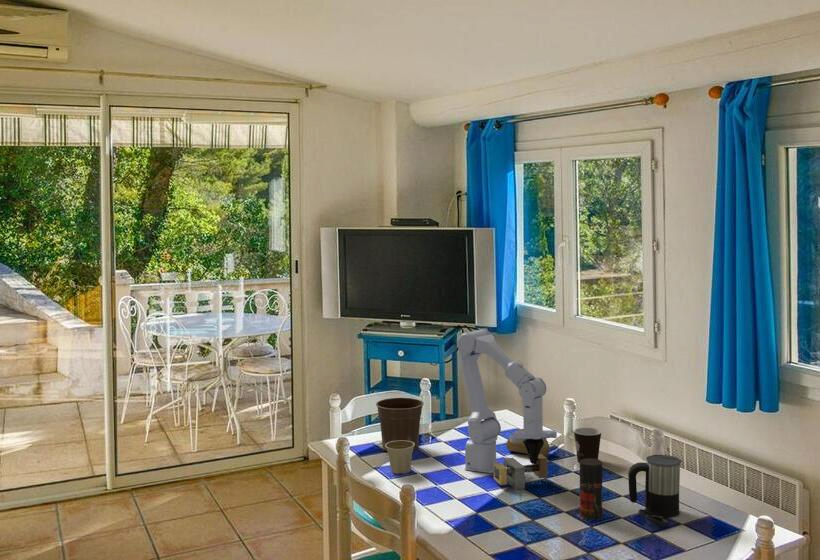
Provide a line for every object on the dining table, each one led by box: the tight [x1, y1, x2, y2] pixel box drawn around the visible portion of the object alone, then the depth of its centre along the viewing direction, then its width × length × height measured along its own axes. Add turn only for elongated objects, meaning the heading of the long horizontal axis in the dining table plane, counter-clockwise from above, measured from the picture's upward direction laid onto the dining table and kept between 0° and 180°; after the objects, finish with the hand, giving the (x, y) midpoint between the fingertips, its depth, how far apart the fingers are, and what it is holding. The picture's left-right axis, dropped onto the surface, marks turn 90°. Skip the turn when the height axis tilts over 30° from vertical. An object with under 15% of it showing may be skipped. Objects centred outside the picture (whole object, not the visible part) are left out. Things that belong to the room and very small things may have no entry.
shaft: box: [493, 454, 548, 479], centre depth 259 cm, size 16×4×6 cm, turn 105°
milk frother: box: [627, 454, 683, 527], centre depth 230 cm, size 14×16×15 cm
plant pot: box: [375, 397, 424, 452], centre depth 295 cm, size 16×16×16 cm
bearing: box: [503, 457, 526, 490], centre depth 258 cm, size 3×9×6 cm, turn 15°
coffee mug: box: [573, 427, 602, 464], centre depth 279 cm, size 12×9×10 cm
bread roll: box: [505, 428, 550, 457], centre depth 287 cm, size 10×15×8 cm, turn 62°
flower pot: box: [385, 440, 415, 475], centre depth 272 cm, size 9×9×9 cm
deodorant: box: [579, 458, 603, 521], centre depth 232 cm, size 6×6×15 cm
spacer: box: [493, 461, 508, 486], centre depth 257 cm, size 2×6×5 cm, turn 15°
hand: (533, 462), depth 260 cm, fingers closed
